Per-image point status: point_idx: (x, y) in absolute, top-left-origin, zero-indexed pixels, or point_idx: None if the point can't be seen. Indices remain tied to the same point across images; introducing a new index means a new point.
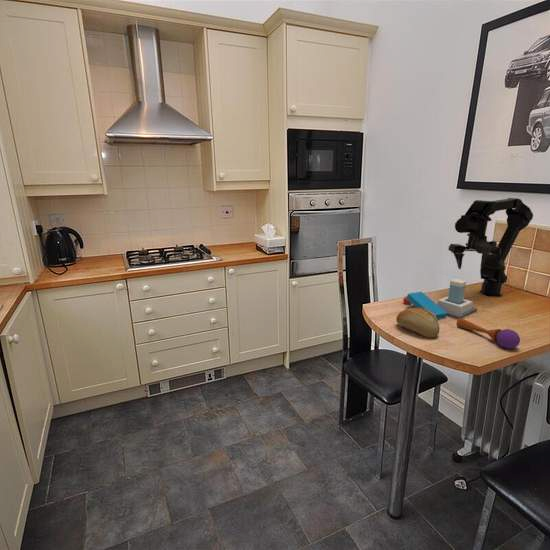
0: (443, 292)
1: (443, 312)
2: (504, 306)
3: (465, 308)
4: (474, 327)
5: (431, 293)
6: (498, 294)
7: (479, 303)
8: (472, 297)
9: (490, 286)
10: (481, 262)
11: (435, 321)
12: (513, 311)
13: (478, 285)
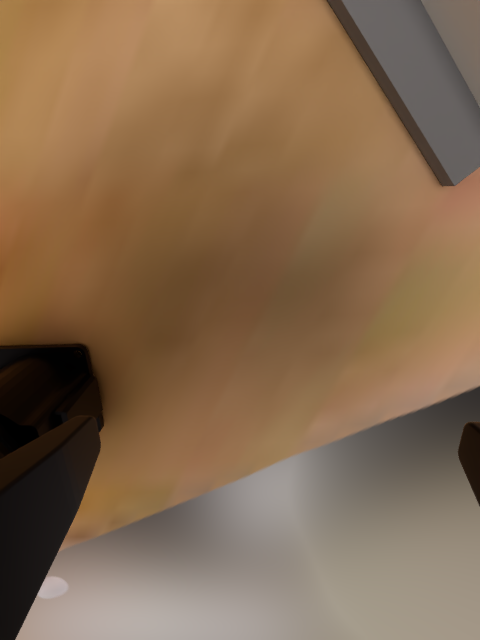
0: (350, 406)
1: None
2: (40, 133)
3: None
4: None
5: (445, 385)
6: (5, 361)
7: (204, 193)
8: (198, 319)
9: (34, 395)
10: (34, 578)
11: None
12: (7, 4)
13: None
